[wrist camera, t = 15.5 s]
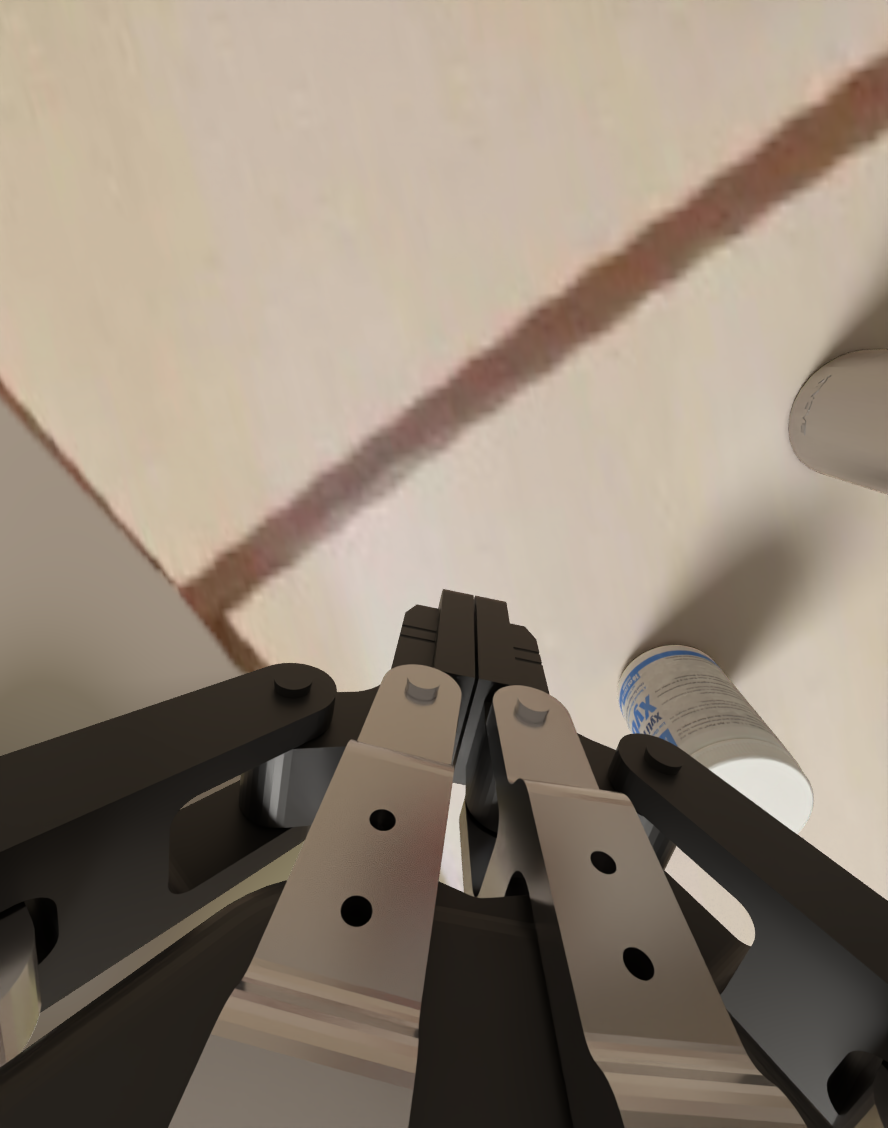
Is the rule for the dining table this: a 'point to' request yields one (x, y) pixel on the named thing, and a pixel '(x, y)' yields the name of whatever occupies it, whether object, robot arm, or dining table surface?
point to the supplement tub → (714, 728)
